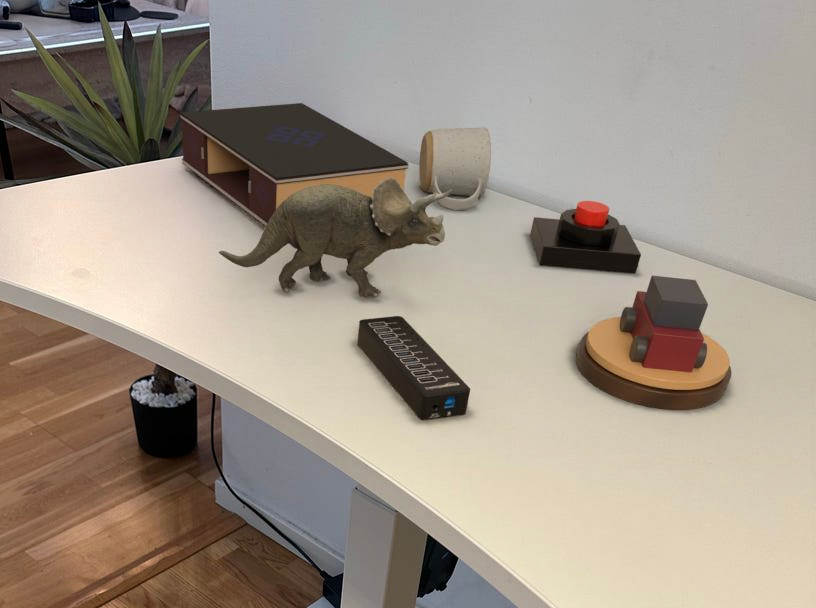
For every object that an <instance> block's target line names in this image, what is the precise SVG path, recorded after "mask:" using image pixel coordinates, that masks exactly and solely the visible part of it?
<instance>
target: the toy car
mask: <svg viewBox="0 0 816 608" xmlns="http://www.w3.org/2000/svg"><path fill="white" fill-rule="evenodd" d="M650 276H651V277H650V280H649V283H648V286H647V289H646V291H641V290H637V291H636V294H635V298H634V300H633V304H632V306H625V307H623V310H622V312H621V315H620V316H614V317H609V318H605V319H603V320H600V321H598V322H596V323H595V324H593V325H592V327H590V328H589V330H588V331H589V332H588V331H587V332H588V335H587V339H586V348H587V351H588V353H589V354H590V356H591V357H592V358H593V359H594V360H595V361H596V362H597V363H598V364H599V365H601V366H602V367H604V368H605V369H607V370H608V371H610V372H612V373H614V374H616V375H618V376H620V377H623V378H625V379H628V380H630V381H633V382H637V383H640V384H644V385H647V386H652V387H657V388H664V389H673V390H694V389H701V388H706V387H710V386H712V385H715V384H717V383H718V382H720V381H721V380H722V379H723V378H724V377H725V375H726V373H727V371H728V368H729V365H730V366H731V361H730V357H729V356H730V355H729V354H728V352H727V351H726V349H725V348H724V347H723V346H722V345H721V344H720V343H718V342H717V341H716V340H714V339H713V338H712V337H710V336H708V335H707V334H705V333H703V332H702V331H701V329H700V328H701V326H702V323H703V320H704V317H705V315H706V311H707V309H708V307H709V303H708V300H707V299H706V297H705V295H704V293H703V291H702V289H701V287H700V286H699V284H698V282H697V280H696V279H689V278H679V277H669V276H663V275H662V276H660V275H650Z"/></svg>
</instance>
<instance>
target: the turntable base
mask: <svg viewBox="0 0 816 608" xmlns="http://www.w3.org/2000/svg"><path fill="white" fill-rule="evenodd" d="M588 332H589V330H588V331H587V332H586V333H584V334H583V336H582V337H581V339H580V341H579V346H578V348H577V352H576V355H575V363H576V367H577V368H578V371H579V372H580V373H581V375H582V376H583V377H584V378H585V379H586V380H587V381H588V382H589V383H590V384H592V385H593V386H595V387H597V388H598V389H599V390H601V391H603V392H606V394H609V395H611V396H613V397H616V398H618V399H620V400H623V401H626V402H629V403H633V404H635V405H639V406H644V407H649V408H653V409H654V408H655V409H661V410H675V411H676V410H677V411H679V410H683V411H684V410H695V409H701V408H705V407H707V406H710V405H712V404H715V403H716V402H718V401H719V400H720V399H722V398H723V396H724V395H725V393H726V391H727V388H728V385H729V383H730V380H731V378H732V373H733V371H732V367H731V364H730V365H729V368H728V371H727V373H726V375H725V377H724V378H723V379H722V380H721V381H720V382H718V383H717V384H715V385H712V386H710V387H706V388H701V389H694V390H673V389H664V388H657V387H652V386H647V385H644V384H640V383H637V382H633V381H630V380H628V379H625V378H623V377H620V376H618V375H616V374H614V373H612V372H610V371H608V370H607V369H605V368H604V367H602V366H601V365H599V364H598V363H597V362H596V361H595V360H594V359H593V358H592V357H591V356H590V354H589V353H588V351H587V348H586V339H587V335H588Z"/></svg>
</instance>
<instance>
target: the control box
mask: <svg viewBox="0 0 816 608" xmlns="http://www.w3.org/2000/svg"><path fill="white" fill-rule="evenodd" d="M575 212H576V208H570V209H566V210H564V211H563V212H562V213H560V216H559V218H558V219H557V218H547V217H538V216H537V217H536V216H534V217H533V220H532V224H531V228H530V234H529V238H530V241H531V244H532V247H533V249H534V252H535V256H536V259H537V262H538V266H541V267H542V266H543V267H552V268H553V267H554V268H565V269H575V270H586V271H587V270H588V271H598V272H609V273H622V274H631V275H632V274H633V275H635V274H636V273H637V271H638V270H637V269H638V267H639V263H640V260H641V257H642V254H641V252H640V249H639V248H638V246H637V244H636V243H635V240H634V239H633V237H632V235H631V233H630V231H629V229H628V228H627V226H626V224H620V222H619V221H618V219H617V218H615V217H614V216H612V215H610V214H609V213H608V217H607V220H606V224H605V225H604V226H590V225H585V224H582V223H578V222H577V221H575V220H574V216H575Z"/></svg>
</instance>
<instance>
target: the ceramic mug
mask: <svg viewBox="0 0 816 608" xmlns="http://www.w3.org/2000/svg"><path fill="white" fill-rule="evenodd" d="M491 141H492V140H491V135H490V131H489V129H488V128H487V127H485V126H484V127H460V128H459V127H458V128H436V129H432V130H428V131H427V132H425V133H424V135H423V136H422V140H421V144H420V151H419V162H418V163H419V166H418V167H419V169H418V171H419V172H418V173H419V174H418V175H419V184H420V187H421V189H422V190H423V191H425V192H426V193H431V194H434V193H437V194H441V193H445V192H447V191H449V190H450V189H451V190H452V192H451V193H450V194H449V195H454V196H466V197H467V198H462V199H459V198H453V197H449V196H447V197H445V198H442V199H439V200H436V202H437V203H438V204H439V205H440V206H441V207H444V208H446V209H448V210H452V211H464V210H465V211H466V210H468V209H471V208H472V207H473V206H474V205H475V204H476V203H477V201H478V200H479V197H482V196H484V194H485V192H486V189H487V185H488V182H489V178H490V171H491V164H492V163H491V161H492V143H491Z"/></svg>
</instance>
